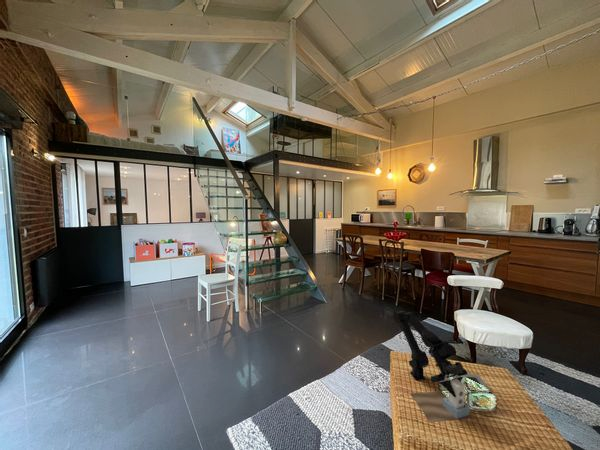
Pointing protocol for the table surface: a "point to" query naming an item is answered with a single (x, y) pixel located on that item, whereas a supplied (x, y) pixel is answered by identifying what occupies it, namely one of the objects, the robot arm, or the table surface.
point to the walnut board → (434, 406)
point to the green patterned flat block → (475, 379)
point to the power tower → (457, 394)
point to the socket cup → (456, 413)
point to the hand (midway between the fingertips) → (459, 396)
